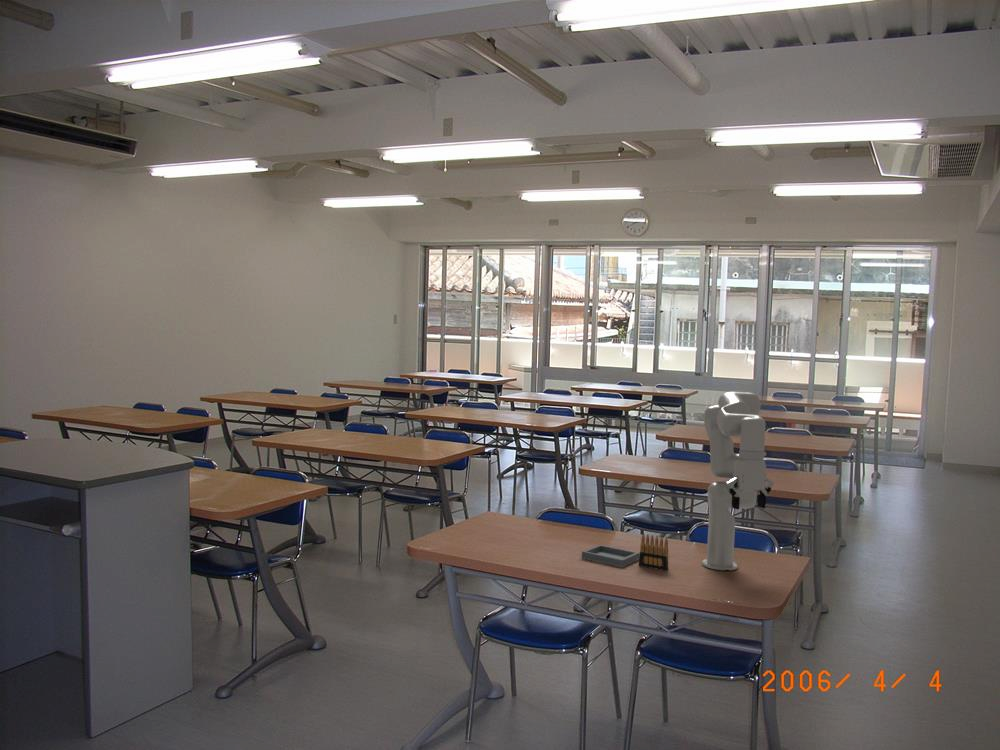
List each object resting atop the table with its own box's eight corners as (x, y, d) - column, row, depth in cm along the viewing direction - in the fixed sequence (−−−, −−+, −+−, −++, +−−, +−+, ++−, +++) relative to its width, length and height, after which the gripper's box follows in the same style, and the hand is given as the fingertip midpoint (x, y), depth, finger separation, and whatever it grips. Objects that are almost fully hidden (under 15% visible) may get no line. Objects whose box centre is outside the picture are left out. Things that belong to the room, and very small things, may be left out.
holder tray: (599, 551, 307) (599, 544, 307) (639, 559, 297) (639, 552, 297) (581, 558, 295) (581, 551, 295) (622, 567, 285) (622, 560, 285)
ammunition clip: (638, 565, 289) (640, 533, 288) (640, 564, 290) (641, 532, 290) (666, 570, 283) (668, 537, 283) (668, 569, 285) (669, 536, 285)
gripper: (767, 453, 259) (764, 504, 260) (721, 454, 254) (718, 506, 255) (781, 457, 252) (778, 509, 253) (734, 457, 247) (731, 511, 248)
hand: (748, 507), depth 254 cm, fingers open, 9 cm apart
